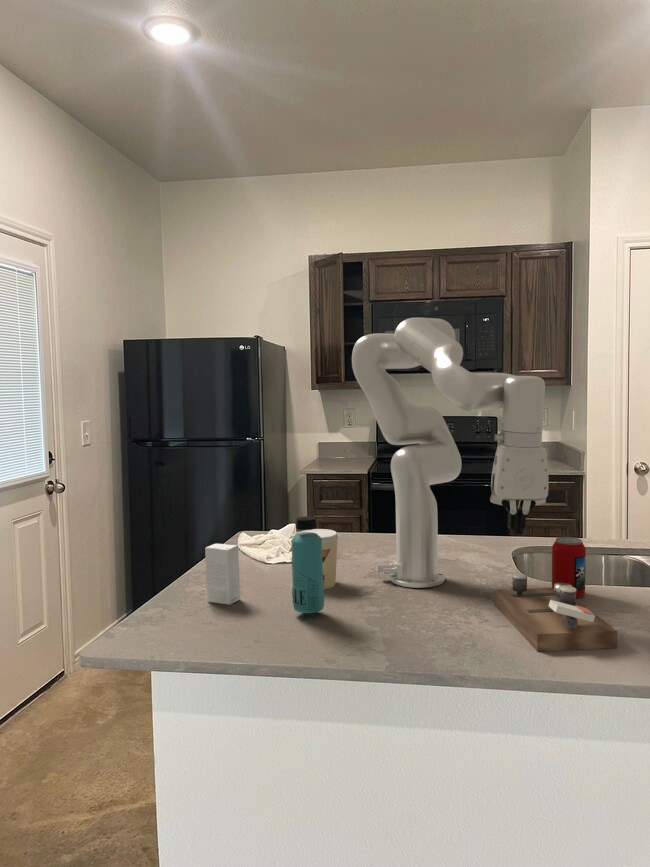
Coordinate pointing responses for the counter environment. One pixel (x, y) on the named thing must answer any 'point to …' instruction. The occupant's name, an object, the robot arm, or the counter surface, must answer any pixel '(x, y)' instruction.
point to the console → (552, 622)
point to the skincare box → (222, 573)
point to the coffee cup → (328, 555)
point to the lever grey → (519, 583)
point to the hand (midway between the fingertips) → (516, 532)
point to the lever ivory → (568, 595)
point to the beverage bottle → (307, 568)
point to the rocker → (572, 610)
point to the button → (557, 588)
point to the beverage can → (569, 563)
